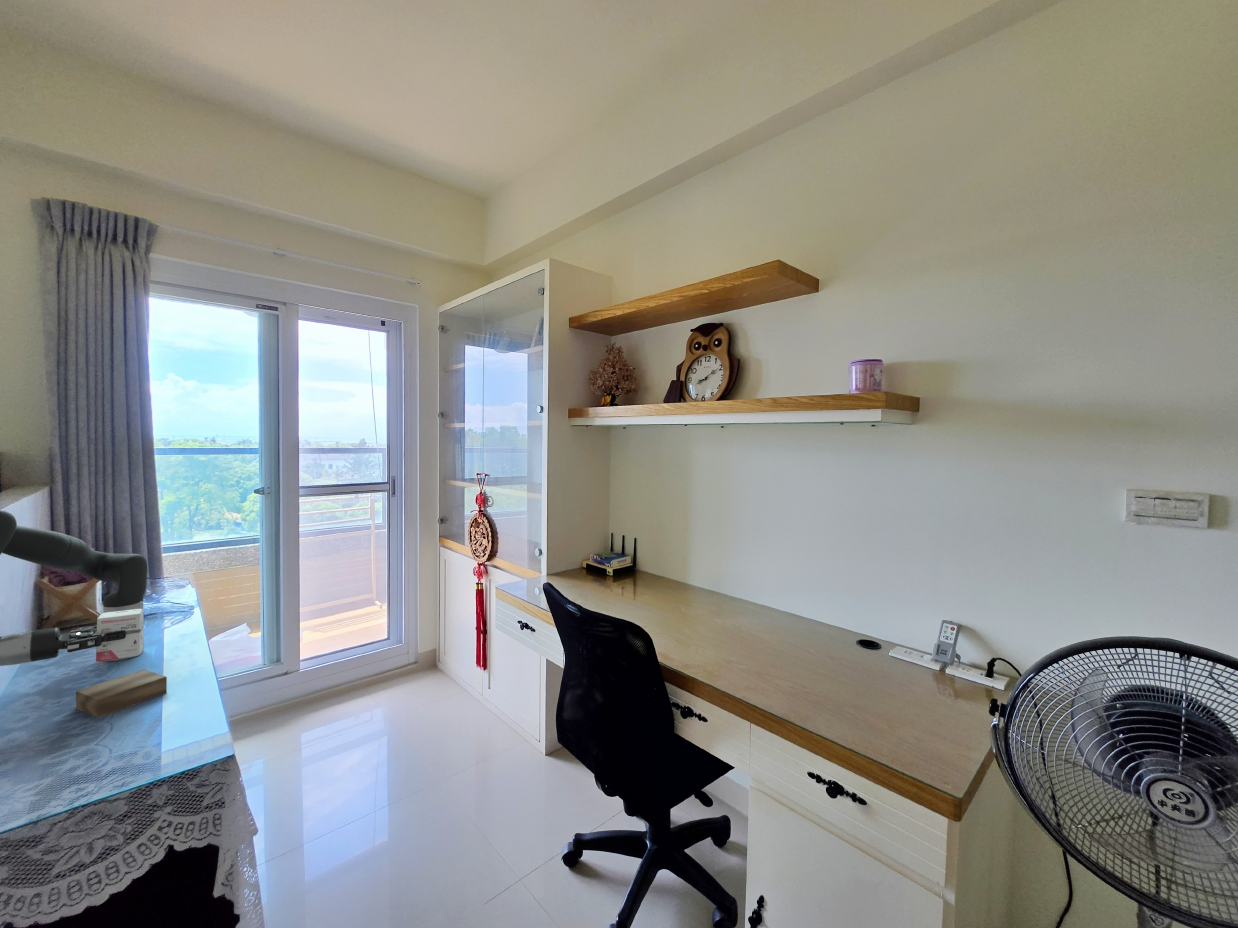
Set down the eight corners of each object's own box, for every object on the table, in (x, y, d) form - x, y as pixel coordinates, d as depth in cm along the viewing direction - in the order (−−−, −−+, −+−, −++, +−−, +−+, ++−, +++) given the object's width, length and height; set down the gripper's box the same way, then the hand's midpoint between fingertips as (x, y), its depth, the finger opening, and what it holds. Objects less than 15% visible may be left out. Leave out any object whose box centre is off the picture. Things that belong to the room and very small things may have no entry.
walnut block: (76, 709, 128) (75, 690, 128) (144, 686, 141) (144, 669, 141) (98, 719, 124) (98, 699, 124) (166, 694, 137) (166, 676, 137)
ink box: (94, 662, 130) (95, 618, 130) (99, 656, 134) (99, 613, 133) (140, 655, 135) (140, 612, 135) (143, 649, 139) (143, 607, 139)
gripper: (25, 639, 118) (125, 624, 130) (34, 623, 128) (126, 611, 140) (25, 670, 118) (125, 652, 130) (34, 652, 128) (126, 637, 140)
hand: (125, 631), depth 135 cm, fingers closed on ink box, 5 cm apart
